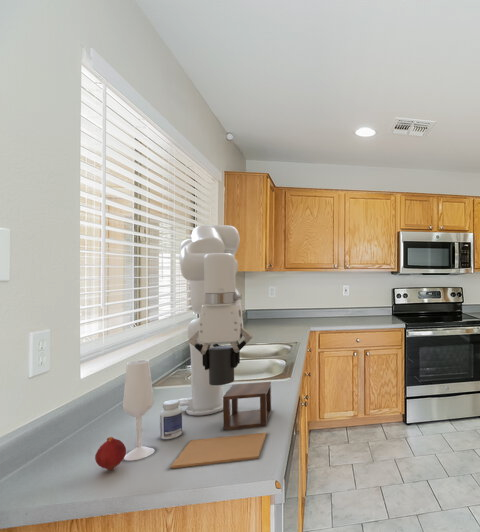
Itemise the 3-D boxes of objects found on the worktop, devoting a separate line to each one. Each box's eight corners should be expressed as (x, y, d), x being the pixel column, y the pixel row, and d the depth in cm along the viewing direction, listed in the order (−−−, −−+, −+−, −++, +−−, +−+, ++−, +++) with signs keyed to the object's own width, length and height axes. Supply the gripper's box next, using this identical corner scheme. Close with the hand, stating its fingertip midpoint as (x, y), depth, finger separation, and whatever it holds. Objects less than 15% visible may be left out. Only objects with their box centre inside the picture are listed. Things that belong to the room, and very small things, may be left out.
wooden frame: (223, 430, 111) (222, 396, 111) (233, 415, 122) (232, 384, 122) (266, 426, 113) (265, 393, 113) (271, 411, 125) (270, 381, 125)
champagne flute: (160, 447, 101) (159, 358, 101) (143, 460, 94) (142, 364, 94) (135, 448, 100) (133, 359, 100) (116, 461, 94) (115, 365, 94)
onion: (107, 464, 92) (106, 431, 92) (131, 462, 93) (131, 430, 93) (89, 477, 86) (89, 442, 87) (115, 475, 87) (115, 441, 87)
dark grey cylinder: (206, 386, 95) (205, 351, 95) (212, 379, 101) (212, 346, 101) (231, 384, 96) (230, 349, 96) (236, 377, 102) (236, 345, 102)
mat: (170, 468, 90) (170, 466, 90) (190, 442, 103) (190, 440, 103) (258, 458, 94) (258, 456, 94) (266, 434, 107) (266, 432, 107)
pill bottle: (186, 432, 109) (186, 399, 109) (170, 440, 104) (169, 406, 104) (172, 430, 111) (172, 397, 111) (155, 438, 106) (155, 404, 106)
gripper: (257, 297, 104) (258, 361, 104) (189, 299, 101) (190, 366, 100) (252, 299, 97) (253, 368, 97) (179, 301, 93) (180, 374, 93)
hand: (221, 366), depth 98 cm, fingers closed on dark grey cylinder, 6 cm apart
